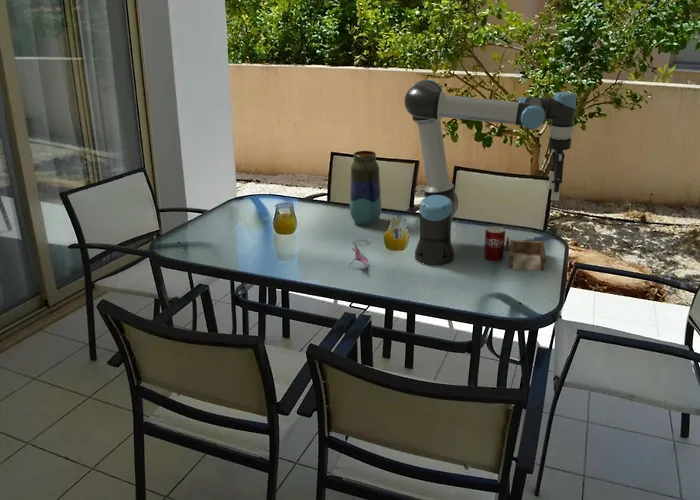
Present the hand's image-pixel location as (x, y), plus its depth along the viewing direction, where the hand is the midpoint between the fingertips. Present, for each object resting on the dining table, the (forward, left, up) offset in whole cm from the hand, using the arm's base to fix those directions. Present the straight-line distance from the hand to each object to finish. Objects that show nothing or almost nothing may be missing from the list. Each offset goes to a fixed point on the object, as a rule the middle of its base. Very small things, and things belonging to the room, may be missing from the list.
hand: (553, 194), depth 231 cm
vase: (-76, +23, -24) cm, 83 cm away
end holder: (-8, -8, -24) cm, 27 cm away
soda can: (-20, -8, -24) cm, 32 cm away
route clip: (-17, +3, -24) cm, 30 cm away
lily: (-68, -24, -24) cm, 76 cm away
